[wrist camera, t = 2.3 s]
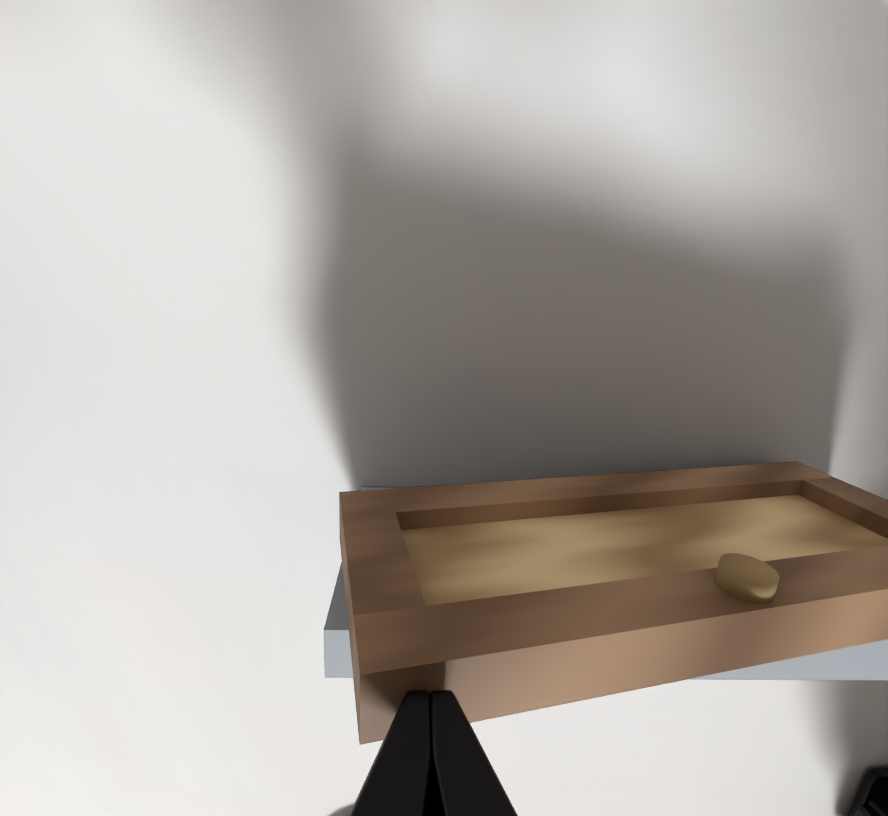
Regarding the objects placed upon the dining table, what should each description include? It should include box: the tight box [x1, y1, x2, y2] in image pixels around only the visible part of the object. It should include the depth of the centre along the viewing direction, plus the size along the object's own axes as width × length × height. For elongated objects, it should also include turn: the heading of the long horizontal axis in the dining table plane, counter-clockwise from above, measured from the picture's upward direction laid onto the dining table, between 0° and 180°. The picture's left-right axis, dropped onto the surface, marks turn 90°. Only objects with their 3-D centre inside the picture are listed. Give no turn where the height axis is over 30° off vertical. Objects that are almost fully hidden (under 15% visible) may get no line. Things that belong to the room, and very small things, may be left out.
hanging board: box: [324, 487, 888, 680], centre depth 17 cm, size 20×6×8 cm, turn 87°
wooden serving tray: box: [339, 461, 888, 745], centre depth 14 cm, size 18×2×7 cm, turn 87°
